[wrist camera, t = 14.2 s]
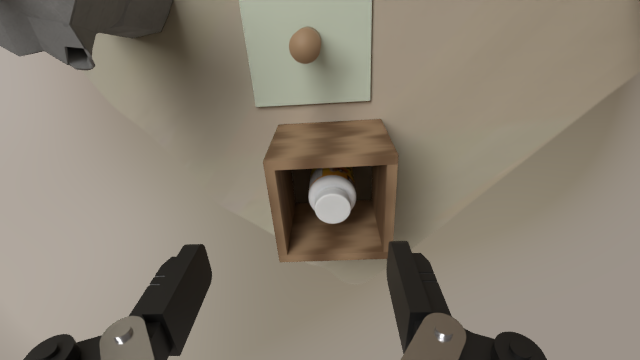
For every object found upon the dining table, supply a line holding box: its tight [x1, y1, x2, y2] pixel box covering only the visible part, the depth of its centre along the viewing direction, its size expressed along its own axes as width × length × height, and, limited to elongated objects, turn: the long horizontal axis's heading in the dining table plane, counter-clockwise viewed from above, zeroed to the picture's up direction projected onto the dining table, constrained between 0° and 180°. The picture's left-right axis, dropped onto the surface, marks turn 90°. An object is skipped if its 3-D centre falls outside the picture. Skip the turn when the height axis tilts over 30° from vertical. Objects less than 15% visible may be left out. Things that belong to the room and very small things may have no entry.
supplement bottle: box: [308, 167, 356, 224], centre depth 38 cm, size 6×6×10 cm
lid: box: [239, 0, 372, 107], centre depth 33 cm, size 14×14×7 cm
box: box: [263, 119, 398, 262], centre depth 38 cm, size 13×13×11 cm
